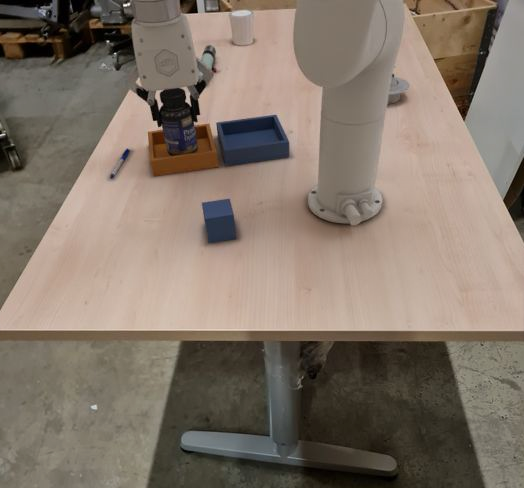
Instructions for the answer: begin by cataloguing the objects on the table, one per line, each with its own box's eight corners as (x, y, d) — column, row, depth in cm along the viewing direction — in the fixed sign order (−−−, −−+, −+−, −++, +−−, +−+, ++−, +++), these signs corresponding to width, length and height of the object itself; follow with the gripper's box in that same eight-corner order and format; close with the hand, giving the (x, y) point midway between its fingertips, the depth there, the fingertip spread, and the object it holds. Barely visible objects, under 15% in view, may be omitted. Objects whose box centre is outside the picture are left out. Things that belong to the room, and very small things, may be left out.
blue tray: (289, 157, 94) (289, 141, 91) (225, 166, 93) (223, 150, 90) (276, 129, 101) (276, 114, 99) (217, 137, 100) (216, 122, 98)
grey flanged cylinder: (385, 47, 95) (428, 38, 97) (360, 33, 101) (400, 24, 103) (376, 111, 105) (416, 101, 107) (354, 94, 111) (391, 85, 113)
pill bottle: (193, 159, 93) (182, 100, 84) (163, 158, 94) (150, 99, 85) (202, 144, 96) (193, 86, 88) (173, 142, 98) (161, 85, 89)
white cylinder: (227, 40, 138) (225, 12, 133) (249, 36, 140) (247, 7, 134) (237, 47, 134) (234, 18, 129) (259, 43, 136) (257, 13, 130)
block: (236, 238, 78) (233, 214, 74) (208, 243, 77) (204, 218, 74) (232, 222, 81) (229, 198, 77) (205, 226, 80) (201, 202, 77)
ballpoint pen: (126, 151, 99) (125, 147, 98) (130, 151, 98) (129, 147, 98) (110, 179, 92) (108, 174, 91) (114, 179, 92) (113, 174, 91)
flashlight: (214, 80, 116) (222, 49, 129) (197, 71, 114) (206, 41, 127) (209, 92, 118) (217, 61, 131) (192, 84, 117) (202, 53, 129)
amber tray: (218, 167, 93) (216, 151, 90) (153, 176, 92) (149, 160, 89) (211, 138, 100) (209, 123, 98) (151, 146, 99) (147, 131, 97)
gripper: (102, 22, 74) (131, 136, 88) (213, 9, 75) (225, 124, 89) (103, 8, 79) (131, 119, 92) (207, -4, 80) (220, 107, 94)
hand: (177, 120), depth 90 cm, fingers closed on pill bottle, 6 cm apart
